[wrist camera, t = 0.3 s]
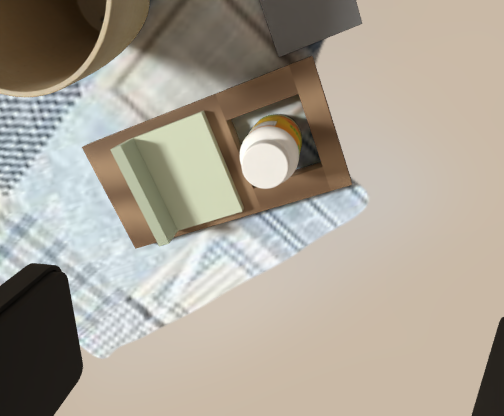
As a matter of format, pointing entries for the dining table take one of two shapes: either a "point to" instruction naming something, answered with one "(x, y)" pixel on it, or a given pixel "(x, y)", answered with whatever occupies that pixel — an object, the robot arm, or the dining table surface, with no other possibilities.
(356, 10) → the pad
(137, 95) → the dining table surface
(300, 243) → the dining table surface
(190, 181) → the slide cover
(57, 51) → the plant pot
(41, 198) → the dining table surface
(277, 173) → the supplement bottle
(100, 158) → the well board
